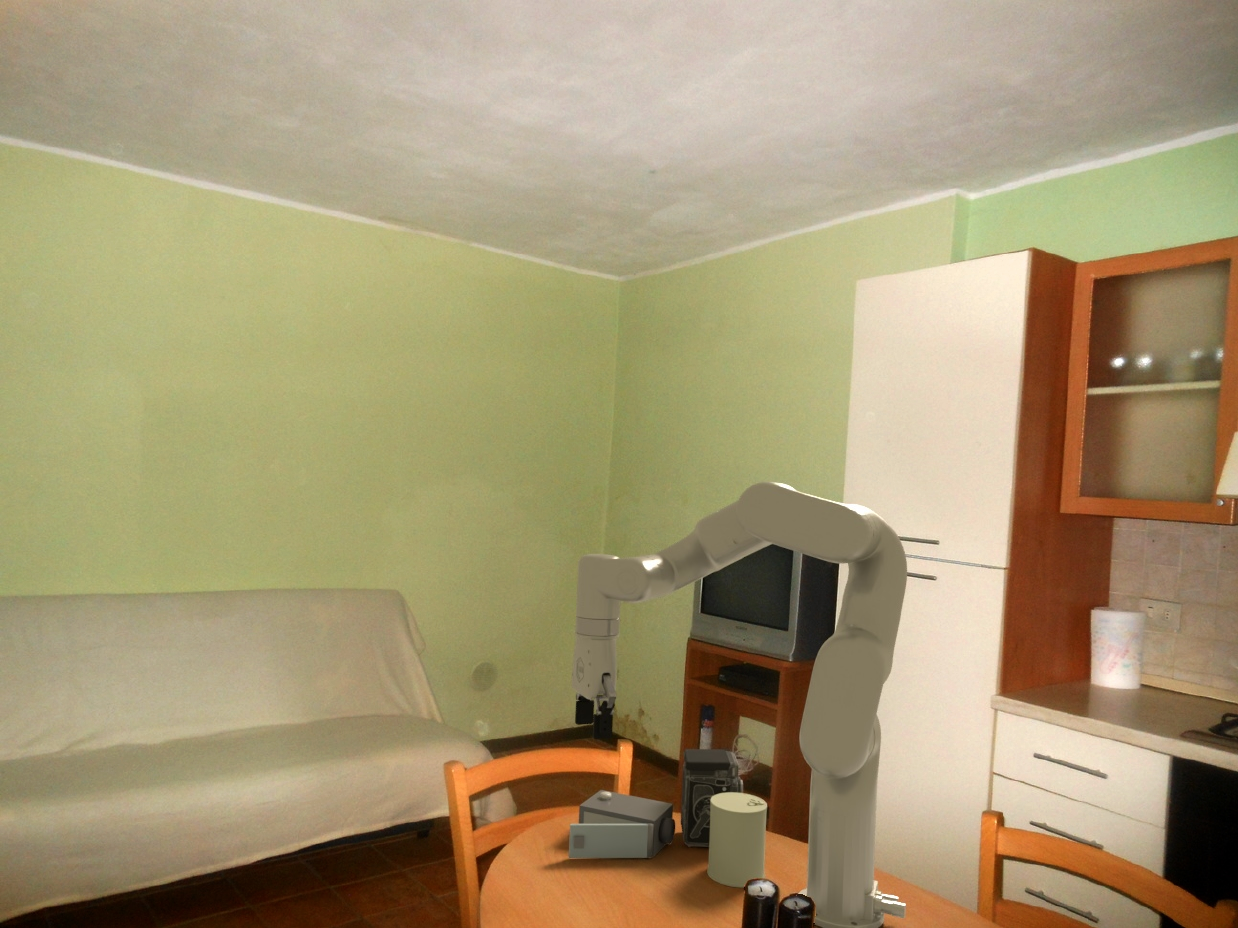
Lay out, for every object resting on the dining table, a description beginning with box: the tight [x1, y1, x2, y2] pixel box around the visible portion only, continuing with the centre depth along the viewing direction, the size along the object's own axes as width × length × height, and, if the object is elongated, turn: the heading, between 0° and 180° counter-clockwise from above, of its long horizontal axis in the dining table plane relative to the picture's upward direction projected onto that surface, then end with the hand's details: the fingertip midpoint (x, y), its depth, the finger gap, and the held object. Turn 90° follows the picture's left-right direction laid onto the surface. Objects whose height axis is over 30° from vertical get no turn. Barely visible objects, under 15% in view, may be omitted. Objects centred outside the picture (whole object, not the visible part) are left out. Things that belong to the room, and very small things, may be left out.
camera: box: [680, 748, 744, 848], centre depth 149 cm, size 10×11×15 cm
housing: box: [578, 789, 676, 858], centre depth 148 cm, size 16×9×7 cm, turn 67°
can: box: [706, 792, 768, 889], centre depth 136 cm, size 9×9×12 cm
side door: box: [568, 823, 654, 859], centre depth 140 cm, size 14×2×5 cm, turn 97°
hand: (592, 730), depth 143 cm, fingers open, 8 cm apart
